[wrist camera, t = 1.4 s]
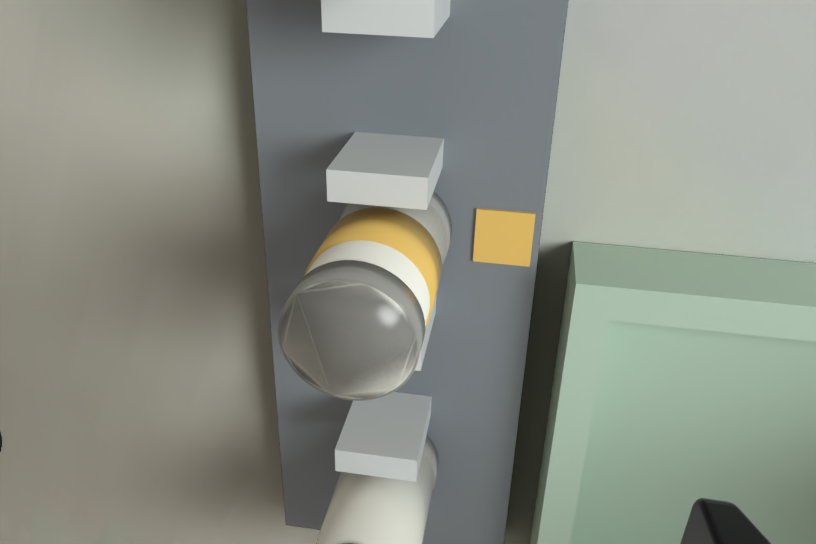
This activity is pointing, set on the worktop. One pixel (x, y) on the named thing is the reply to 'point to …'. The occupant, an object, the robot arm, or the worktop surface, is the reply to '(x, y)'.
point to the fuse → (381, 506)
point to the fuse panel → (411, 188)
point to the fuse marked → (366, 300)
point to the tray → (680, 397)
